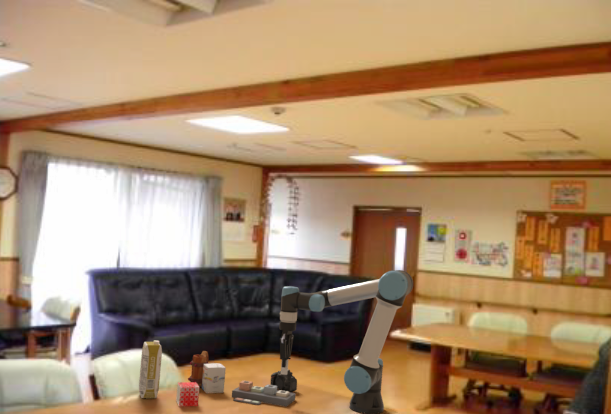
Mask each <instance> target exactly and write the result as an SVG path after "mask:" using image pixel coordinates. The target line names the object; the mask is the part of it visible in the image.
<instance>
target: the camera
mask: <svg viewBox="0 0 611 414" xmlns="http://www.w3.org/2000/svg"><path fill="white" fill-rule="evenodd" d="M269 385H275V386H277V390H278V391H279V390H282V391H288V392H290V393H293V392H296V391H297V390H298V388H297V387H298V379H297V378H296V377H295V376H294V375H293V372H292V371H291V370H290V369H288V373H287V375H283V374H281V370H278V371H277V372H273V373H272V374H271V375H270V384H269Z"/></svg>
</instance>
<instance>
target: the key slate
mask: <svg viewBox="0 0 611 414" xmlns="http://www.w3.org/2000/svg"><path fill="white" fill-rule="evenodd" d="M263 387H264V394H269V395H275V394H276V392H277V390H278V389H277V386H275V385H270V384H266V385H263Z"/></svg>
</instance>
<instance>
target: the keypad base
mask: <svg viewBox="0 0 611 414" xmlns="http://www.w3.org/2000/svg"><path fill="white" fill-rule="evenodd" d="M253 387H255V386H252V388H253ZM278 391H279V389H277V392H278ZM231 398H233V399H235V398H242V399H248V400H253V401H259V402H262V403H264V404H269V405H275V406H280V407H285V408H286V407H288V406H289V405H290V404H292V403H293V402H295V401H296V393H295V392H289V396H288V397H280V396H276V394H275V395H269V394H264V392H262V393H257V392H251V390H250V391H245V390H239V386H238V387H236V388H234V389H233V390H231ZM262 403H261V404H262Z"/></svg>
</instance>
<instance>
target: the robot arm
mask: <svg viewBox="0 0 611 414" xmlns="http://www.w3.org/2000/svg"><path fill="white" fill-rule="evenodd" d="M413 288H414V280H413V278H412V276H411V275H410V273H408V272H407V271H405V270H402V269H401V270H400V269H398V270H388V271H386V272H385V273H384V274H382V276H381V277H380V278H379V279H373V280H367V281H363V282H359V283H354V284H349V285H345V286H339V287H335V288H330V289H327V290H320V291H317V292H311V293H310V292H301V291H300V289H299V287H297V286H292V285H289V286H288V285H287V286H283V287H282V291H281V297H280V298H281V301H280V302H281V303H280V312H279V313H278V314H279V320H280V321H279V326H278V328H279V330H280V331H281V332H282V333H281V336H280V338H279V339H278V340H279V360H281V365H280V371H281V374H283V375H287V373H288V370H289V360H291V354H292V349H293V342H294V338H295V335H294V334H293V332H294V331H296V330H297V321H298V320H297V319H298V310H303V311H309V312H310V311H311V312H313V313H314V312H323V310H324V309H325V308H328V307H334V306H337V305H338V306H339V305H342V304H348V303H349V304H350V303H354V302H358V301H364V300H368V299H372V298H376V305H375V309H374V311H373V313H372V316H371V319H370V322H369V324H368V327H367V330H366V333H365V336H364V337H363V340H362V344H361V346H360V349H359V352H358V353H357V354H355V355H353V358H352V359H351V363H350V365H349V367H348V368H347V369H346V370H345V373H344V375H343V381H344V384H345V386H346V388H347V389H348V390H349V391H350V392H351V393H352V396H351V398H350V401H349V408H350V409H351V410H352V411H354V412H357V413H361V412H362V414H377V413H378V414H381V412H382V413H383V412H384V408H385V406H384V405H385V404H384V400H383V396H382V385H383V384H382V383H383V382H382V381H383V370H384V369H383V368H384V360H383V359H382V358H380V356H381V353H382V350H383V347H384V345H385V342H386V340H387V336H388V335H389V331H390V329H391V326H392V324H393V321H394V318H395V316H396V313H397V311H398V309H400V308H403V305H404V302H405V299H406V297H407V296H408V295H409V294H410V293H411V292H412V291H413Z"/></svg>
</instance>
